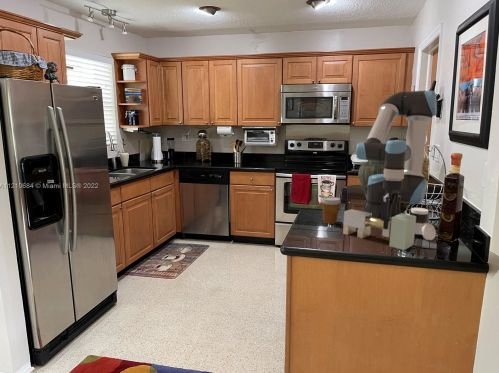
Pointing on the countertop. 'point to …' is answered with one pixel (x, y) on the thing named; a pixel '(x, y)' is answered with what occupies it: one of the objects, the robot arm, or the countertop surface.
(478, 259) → the countertop surface
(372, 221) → the cylinder on square base
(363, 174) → the vase
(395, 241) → the socket block
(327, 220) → the disposable coffee cup
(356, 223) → the white blocky legged figure
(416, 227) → the flanged pipe fitting
